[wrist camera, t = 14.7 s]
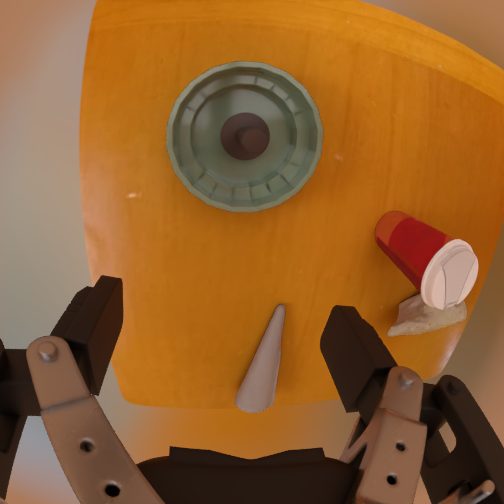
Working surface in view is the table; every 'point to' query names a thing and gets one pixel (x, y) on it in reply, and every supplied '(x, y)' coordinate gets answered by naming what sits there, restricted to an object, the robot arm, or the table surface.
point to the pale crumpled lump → (425, 317)
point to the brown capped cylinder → (245, 136)
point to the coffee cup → (428, 258)
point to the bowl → (234, 170)
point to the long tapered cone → (263, 369)
